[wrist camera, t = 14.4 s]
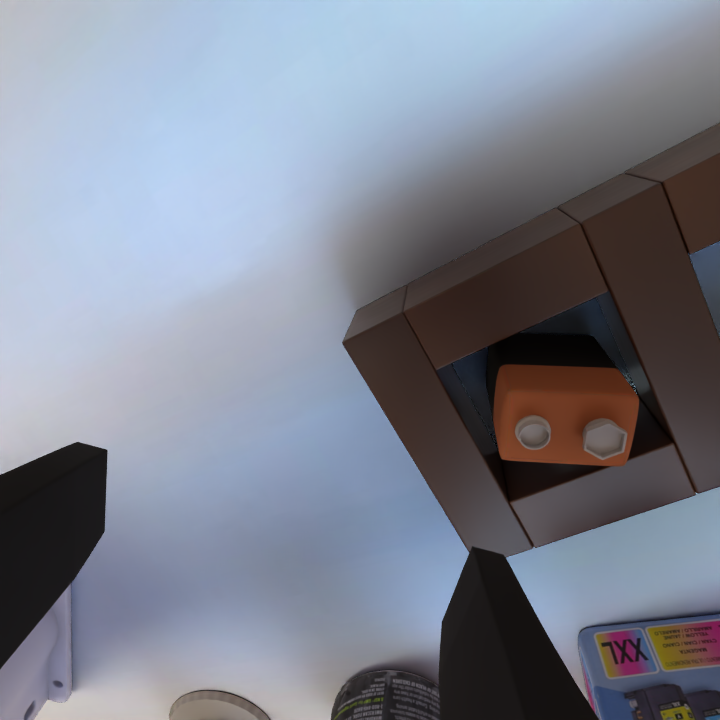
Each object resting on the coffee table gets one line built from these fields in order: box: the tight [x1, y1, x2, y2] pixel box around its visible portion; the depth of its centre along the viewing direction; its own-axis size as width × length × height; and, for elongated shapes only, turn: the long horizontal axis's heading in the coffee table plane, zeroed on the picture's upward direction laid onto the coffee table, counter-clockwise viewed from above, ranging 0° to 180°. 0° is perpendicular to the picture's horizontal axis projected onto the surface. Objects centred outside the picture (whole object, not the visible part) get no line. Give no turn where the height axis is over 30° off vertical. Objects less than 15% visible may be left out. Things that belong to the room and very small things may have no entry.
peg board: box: [342, 123, 720, 558], centre depth 16 cm, size 16×9×3 cm, turn 120°
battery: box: [486, 333, 639, 466], centre depth 16 cm, size 2×3×5 cm, turn 91°
